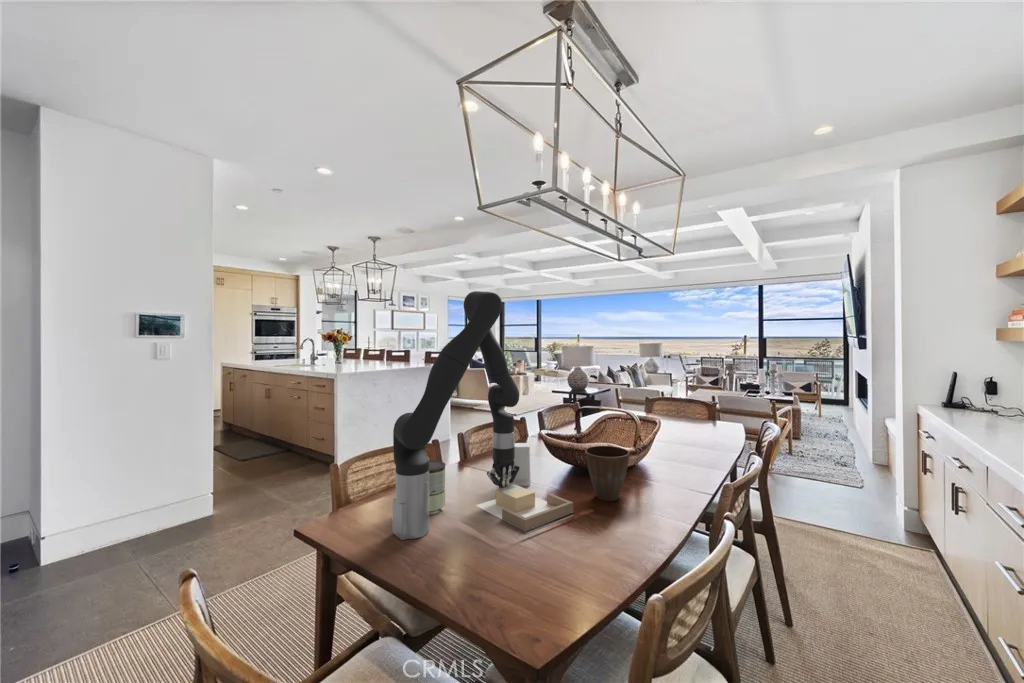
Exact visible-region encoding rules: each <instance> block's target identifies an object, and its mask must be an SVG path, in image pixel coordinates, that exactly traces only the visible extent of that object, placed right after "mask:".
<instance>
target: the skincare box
mask: <svg viewBox="0 0 1024 683" xmlns="http://www.w3.org/2000/svg"><path fill="white" fill-rule="evenodd" d="M530 448H531V445H530V442H515V459H514V464H515V465H516V466H519V467H520V469H519V471H518V473H517V475H516V477H515V479H514V481H513V483H510V484H509V486H510V485H514V484H515V485H518V486H520V487H530V486H531V482H532V481H531V449H530ZM511 477H512V476H511ZM510 479H511V478H510Z"/></svg>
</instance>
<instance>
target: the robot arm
mask: <svg viewBox="0 0 1024 683" xmlns="http://www.w3.org/2000/svg"><path fill="white" fill-rule="evenodd" d="M463 309H464V314H465V316H466V318H467V321H468V322H467V324H466V326H465V327H464V328H463V329H462V330H461V331H460V332H459V333H458V334H456V335H455V336H454V337H453V338H452V339H451V340H450V341H449V342H447V343H446V345H445V346H443V348H442V349H441V351H440V352H439V354H438V355H437V357H436V359H435V360H434V361H433V365H432V366H431V369H430V370H429V374H428V378H427V381H426V386H425V390H424V392H423V394H422V397H421V399H420V401H419V403H418V404H417V406H416V407H415V409H414V410H413V412H405V413H403V414H401V415H399V417H398V418H397V419H396V421H395V423H394V424H393V425H394V426H393V432H392V434H393V436H392V439H393V440H392V441H393V443H392V444H393V460H394V461H393V462H394V464H395V497H394V498H393V499H392V534H394V535H395V536H396V537H397V538H398V539H400V540H401V541H404V540H414V539H418V538H422V537H424V536H426V535H427V534H428V533H429V531H430V515H429V461H430V460H429V458H428V455H427V451H426V446H427V445H428V443H430V441H431V440H432V438H433V435H434V434H435V431H436V429H437V426H438V424H439V422H440V420H441V417H442V414H443V413H444V410H445V408H446V407H447V404H448V403H449V402H450V400H451V398H452V396H453V394H454V393H455V391H456V389H457V387H458V385H459V383H460V382H461V380H462V378H463V377H464V375H465V374H466V371H467V369H468V367H469V366H470V364H471V362H472V360H473V357H474V356H475V354H476V353H477V351H478V349H479V350H480V352H481V355H482V358H483V363H484V367H485V372H486V374H487V378H488V380H489V381H490V382H491V383H493V384H494V385H492V386H491V387H490V388H489V390H488V393H487V400H488V405H489V409H490V413H491V416H492V438H491V439H492V440H491V445H492V446H491V448H492V449H491V450H492V454H491V455H492V457H491V458H492V461H493V463H492V466H491V469H490V471H487V472H486V475H487V477H488V478H489V479H490V481H491V482H492V483H493V485H495V486H497V487H498V489H500V488H503V487H507V486H509V484H510V483H513V481H514V479H515V477H516V475H517V473H518V471H519V469H520V467H519V466H516V465H515V464H514V459H515V443H516V440H515V439H516V438H515V417H514V415H513V414H512V413H509V412H507V411H506V410H505V408H513V407H516V406H517V405H518V404H519V401H520V391H519V388H518V386H517V383H515V381H514V378H513V377H512V375H511V373H510V370H509V366H508V363H507V359H506V355H505V353H504V350H503V348H502V347H501V345H500V343H499V342H498V341H497V339H496V337H495V335H494V333H493V331H492V327H493V326H494V324H495V323H496V322H497V321H498V319H499V316H500V315H501V312H502V309H503V301H502V298H501V296H500V295H499V294H498V293H496V292H493V291H481V290H480V291H478V290H476V291H471V292H469V293H467V295H466V296H465V298H464V301H463ZM504 407H505V408H504ZM511 476H512V477H511ZM510 478H511V479H510Z"/></svg>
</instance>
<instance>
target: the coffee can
mask: <svg viewBox="0 0 1024 683" xmlns="http://www.w3.org/2000/svg"><path fill="white" fill-rule="evenodd" d="M445 505H446V463H445V462H443V461H441V460H429V516H430V515H436V514H439V513H441V512H443V509H441V508H443V507H445Z"/></svg>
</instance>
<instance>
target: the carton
mask: <svg viewBox="0 0 1024 683" xmlns="http://www.w3.org/2000/svg"><path fill="white" fill-rule="evenodd" d="M535 497H536V491H533V490H530V489H527V488H525V487H524V486H518V485H515V484H514V485H510V486H507V487H503V488H500V489H499V488H497V489H495V499H496V504H498V505H500V506H502V507H504V508H507V509H509V510H511V511H513V512H515V513H518V512H521V511H523V510H526V509H529V508H532V507H535Z"/></svg>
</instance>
